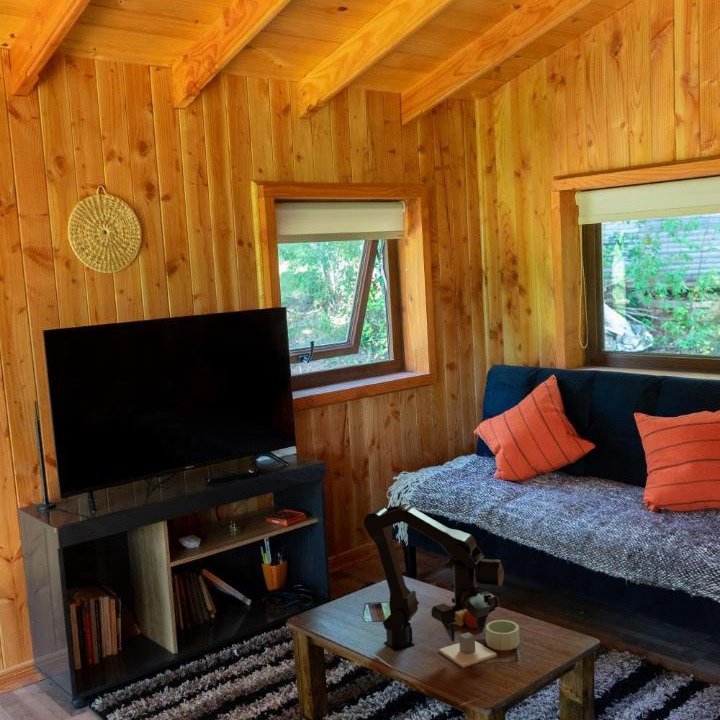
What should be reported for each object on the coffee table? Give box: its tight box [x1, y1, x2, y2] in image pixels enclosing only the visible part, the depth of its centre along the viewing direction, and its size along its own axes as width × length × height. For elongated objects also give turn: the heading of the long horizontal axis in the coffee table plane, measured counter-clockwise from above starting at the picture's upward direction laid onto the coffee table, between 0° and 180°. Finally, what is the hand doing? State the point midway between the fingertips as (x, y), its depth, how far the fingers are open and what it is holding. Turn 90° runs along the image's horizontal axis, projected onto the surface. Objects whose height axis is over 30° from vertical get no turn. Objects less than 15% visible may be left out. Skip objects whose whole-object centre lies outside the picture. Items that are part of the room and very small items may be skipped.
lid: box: [438, 632, 497, 667], centre depth 245 cm, size 11×11×5 cm
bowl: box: [485, 619, 521, 651], centre depth 251 cm, size 9×9×5 cm
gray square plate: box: [437, 650, 500, 669], centre depth 246 cm, size 12×12×1 cm
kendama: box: [436, 603, 478, 630], centre depth 267 cm, size 8×6×18 cm
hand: (466, 636), depth 245 cm, fingers open, 9 cm apart
